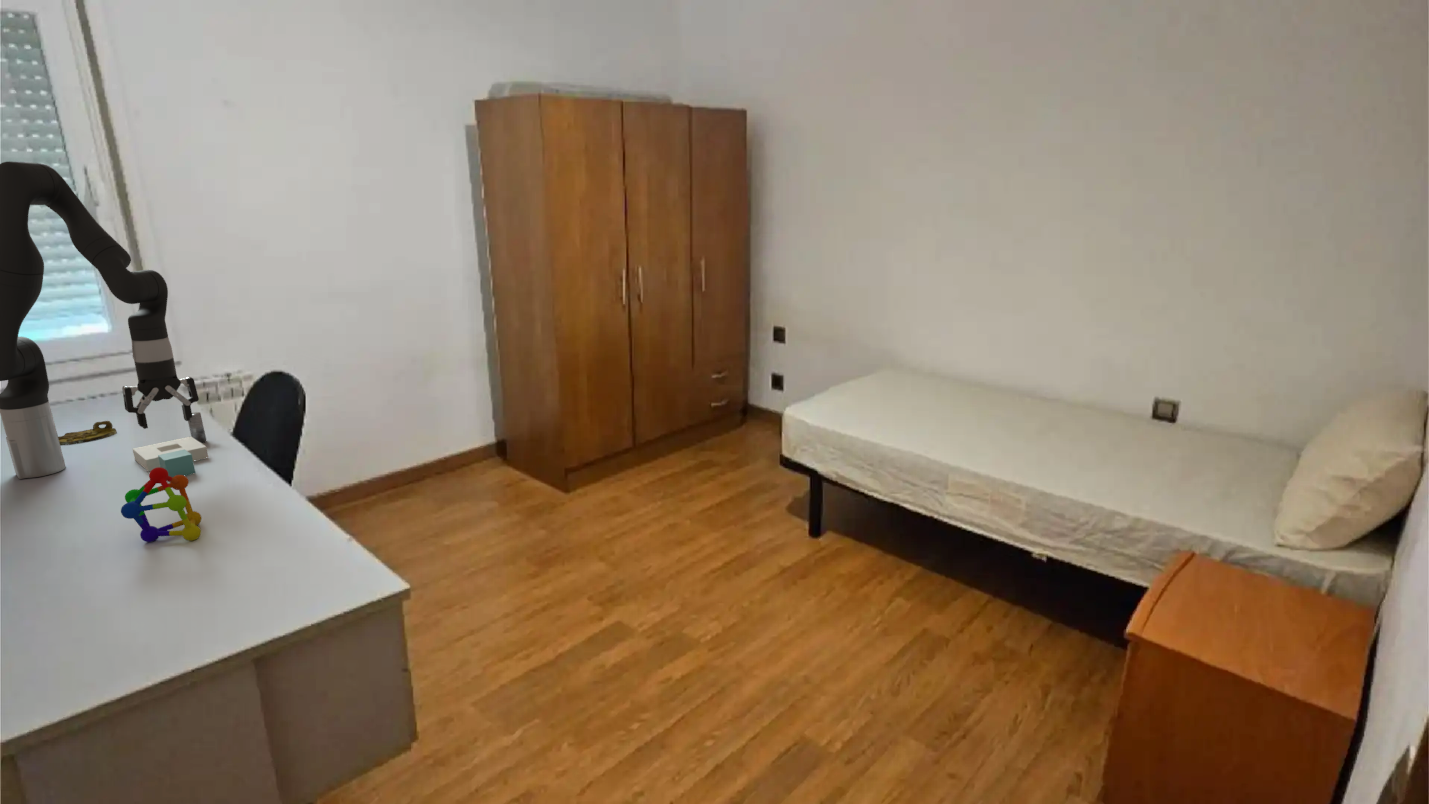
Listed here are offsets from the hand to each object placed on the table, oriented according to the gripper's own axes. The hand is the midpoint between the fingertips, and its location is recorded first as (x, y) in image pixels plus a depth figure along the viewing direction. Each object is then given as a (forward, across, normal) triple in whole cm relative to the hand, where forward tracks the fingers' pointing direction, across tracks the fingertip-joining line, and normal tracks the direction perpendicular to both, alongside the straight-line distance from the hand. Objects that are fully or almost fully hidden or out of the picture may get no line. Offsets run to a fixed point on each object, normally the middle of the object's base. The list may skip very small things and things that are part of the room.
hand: (166, 424), depth 186 cm
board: (+13, +2, +14) cm, 19 cm away
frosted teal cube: (+13, 0, 0) cm, 13 cm away
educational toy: (+12, -11, -41) cm, 45 cm away
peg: (+13, +11, +24) cm, 29 cm away
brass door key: (+14, -9, +53) cm, 56 cm away
